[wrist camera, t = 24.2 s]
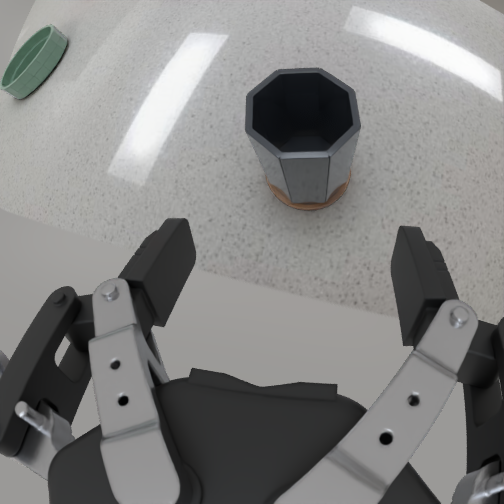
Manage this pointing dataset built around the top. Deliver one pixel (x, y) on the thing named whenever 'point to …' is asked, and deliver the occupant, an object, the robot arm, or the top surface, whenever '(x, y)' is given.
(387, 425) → the robot arm
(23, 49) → the bowl
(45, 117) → the top surface
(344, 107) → the cup
